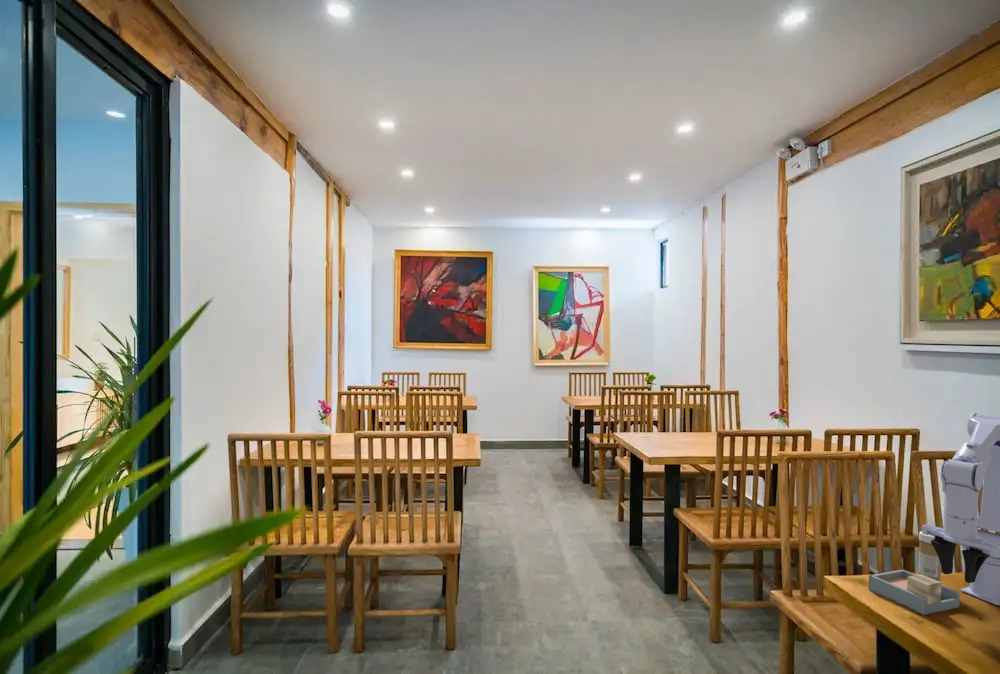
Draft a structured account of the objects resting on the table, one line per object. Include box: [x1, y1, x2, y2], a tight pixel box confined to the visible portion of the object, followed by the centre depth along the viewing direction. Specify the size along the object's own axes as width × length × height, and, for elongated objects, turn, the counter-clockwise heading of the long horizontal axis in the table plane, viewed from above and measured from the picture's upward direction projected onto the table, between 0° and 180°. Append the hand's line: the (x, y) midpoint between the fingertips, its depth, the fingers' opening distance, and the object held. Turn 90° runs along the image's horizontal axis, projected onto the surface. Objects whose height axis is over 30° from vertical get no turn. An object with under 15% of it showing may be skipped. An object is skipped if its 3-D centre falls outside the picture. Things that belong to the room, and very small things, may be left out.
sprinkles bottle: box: [918, 530, 942, 582], centre depth 140 cm, size 5×5×14 cm
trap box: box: [868, 569, 961, 616], centre depth 134 cm, size 12×13×4 cm
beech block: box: [907, 573, 942, 605], centre depth 129 cm, size 4×4×4 cm
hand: (958, 577), depth 123 cm, fingers open, 4 cm apart
